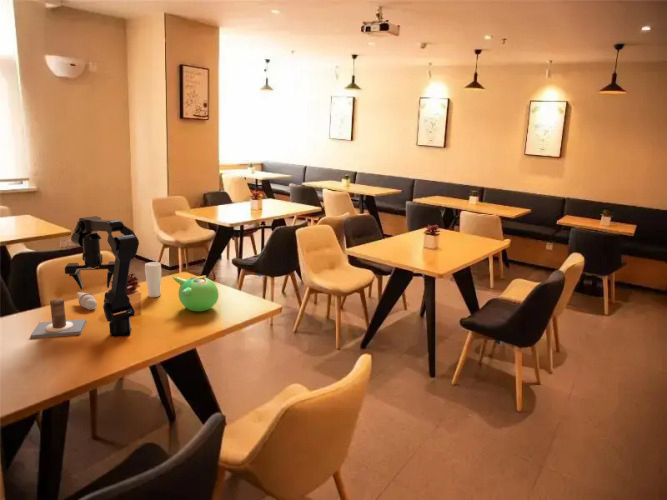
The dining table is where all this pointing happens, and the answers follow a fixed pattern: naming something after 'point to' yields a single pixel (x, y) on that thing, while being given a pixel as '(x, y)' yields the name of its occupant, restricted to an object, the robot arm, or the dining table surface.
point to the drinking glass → (153, 278)
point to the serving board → (58, 329)
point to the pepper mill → (58, 313)
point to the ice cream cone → (87, 300)
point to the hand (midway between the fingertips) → (95, 288)
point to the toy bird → (197, 293)
